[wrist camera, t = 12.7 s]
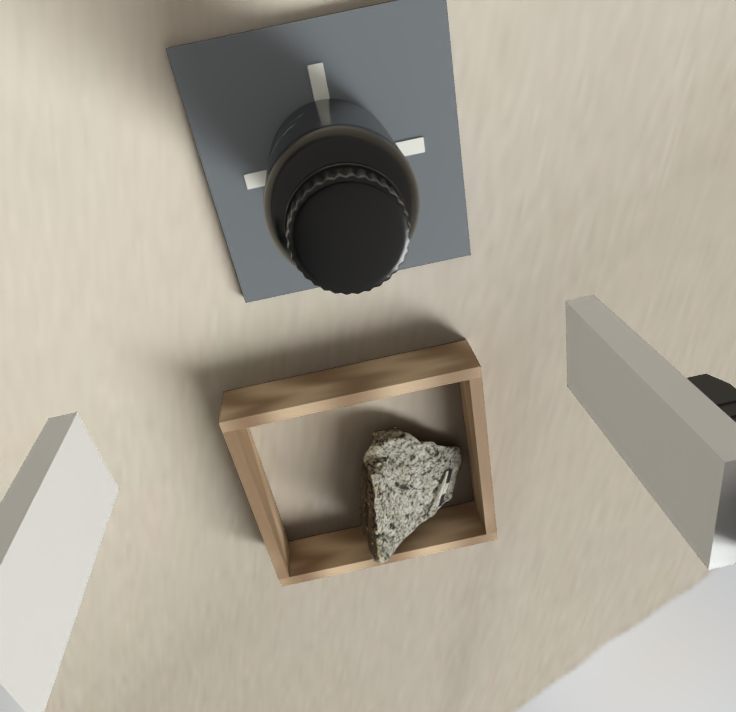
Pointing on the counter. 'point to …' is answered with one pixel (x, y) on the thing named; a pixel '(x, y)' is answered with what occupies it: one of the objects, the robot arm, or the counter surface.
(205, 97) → the rest mat
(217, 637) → the counter surface
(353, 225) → the supplement bottle
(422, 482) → the rock sample
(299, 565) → the tray
